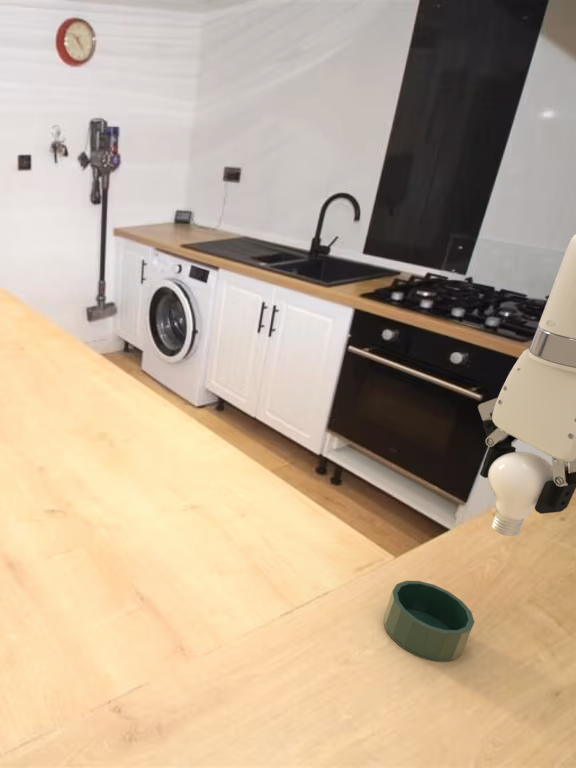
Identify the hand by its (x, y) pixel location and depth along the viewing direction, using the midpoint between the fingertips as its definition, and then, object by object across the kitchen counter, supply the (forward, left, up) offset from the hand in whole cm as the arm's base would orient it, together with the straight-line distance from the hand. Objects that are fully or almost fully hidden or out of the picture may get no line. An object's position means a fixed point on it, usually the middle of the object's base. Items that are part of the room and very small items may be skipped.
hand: (519, 491), depth 64 cm
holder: (+6, +1, -22) cm, 23 cm away
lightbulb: (0, 0, -6) cm, 6 cm away
